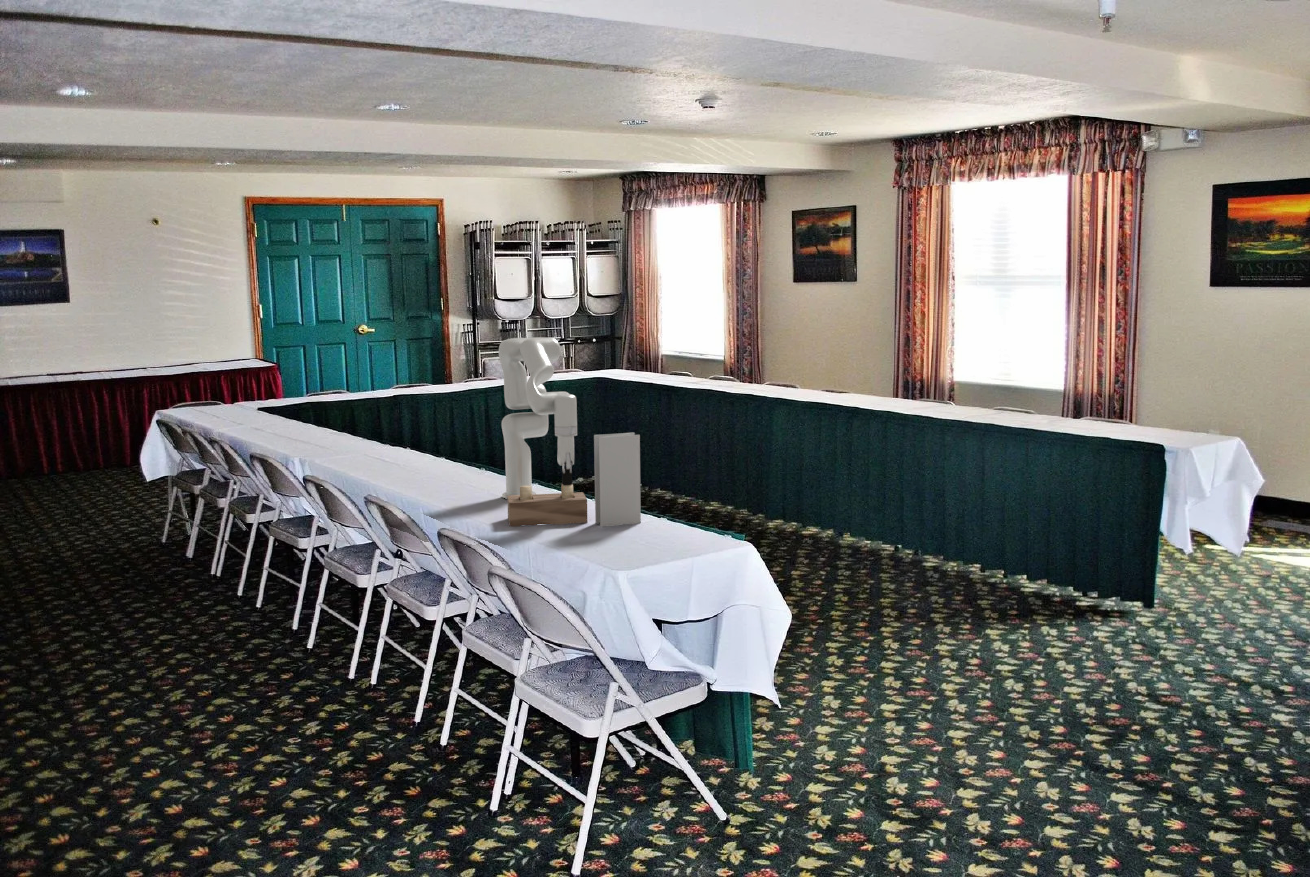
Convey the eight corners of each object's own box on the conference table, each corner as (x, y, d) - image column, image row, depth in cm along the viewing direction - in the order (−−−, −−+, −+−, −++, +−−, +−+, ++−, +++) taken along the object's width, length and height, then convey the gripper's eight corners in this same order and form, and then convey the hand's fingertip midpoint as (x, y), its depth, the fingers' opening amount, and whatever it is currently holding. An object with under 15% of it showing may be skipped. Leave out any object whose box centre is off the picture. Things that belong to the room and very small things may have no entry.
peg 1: (520, 507, 373) (519, 485, 372) (531, 507, 374) (531, 485, 373) (520, 510, 369) (520, 488, 368) (532, 509, 370) (532, 487, 369)
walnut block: (508, 518, 377) (507, 495, 376) (583, 514, 382) (582, 492, 380) (509, 526, 365) (509, 503, 364) (587, 522, 370) (587, 499, 369)
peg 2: (561, 505, 376) (560, 484, 374) (572, 505, 376) (572, 483, 375) (562, 508, 372) (561, 486, 371) (574, 507, 372) (573, 485, 371)
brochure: (635, 519, 374) (634, 432, 369) (640, 523, 369) (640, 434, 364) (595, 523, 369) (594, 435, 364) (600, 526, 364) (599, 437, 359)
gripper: (552, 428, 377) (554, 480, 379) (557, 434, 362) (558, 489, 365) (574, 427, 378) (575, 479, 381) (579, 433, 363) (580, 488, 366)
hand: (567, 484), depth 373 cm, fingers closed
